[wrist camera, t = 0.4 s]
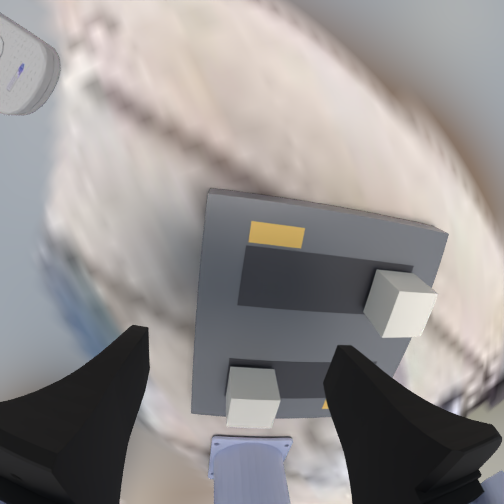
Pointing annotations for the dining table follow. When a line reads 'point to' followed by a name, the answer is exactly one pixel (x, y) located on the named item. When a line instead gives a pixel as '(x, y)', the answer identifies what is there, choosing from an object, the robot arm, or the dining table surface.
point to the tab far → (251, 398)
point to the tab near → (399, 304)
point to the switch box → (295, 293)
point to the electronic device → (25, 69)
